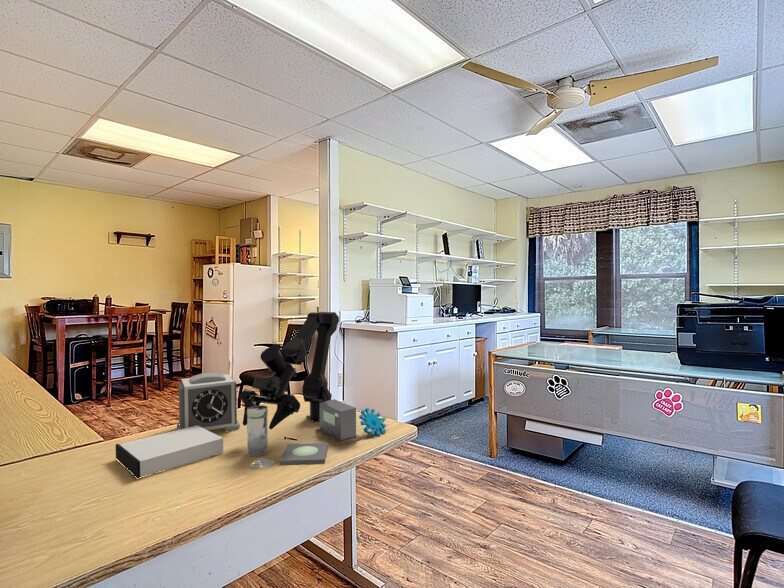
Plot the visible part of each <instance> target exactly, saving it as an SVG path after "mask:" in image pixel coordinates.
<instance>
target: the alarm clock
mask: <svg viewBox="0 0 784 588" xmlns="http://www.w3.org/2000/svg"><path fill="white" fill-rule="evenodd" d="M237 398H238V397H237V381H236V380H235V379H234V378H233V377H232V376H231V375H229V374H228V373H226V374H222V373H218V372H202V373H200V374H196V375H193V376H191V377H188V378H187V377H186V378H181V382H178V414H179V416H178V419H179V421H178V422H177V423H176V430H180V429H184V428H188V427H192V426H196V425H198V426H200V427H202V428H204V429H206V430H208V431H210V430H218V429H222V428H223V429H224V428H225V429H224V430H226V431H228V432H233V431H232V430H234V431H239V430H240V429H239V428H241V423H240V422H239V421H238V415H237V414H238V413H237V412H238V411H237V410H238V408H237V407H238V406H237V405H238V404H237V403H238V402H237V401H238V400H237ZM179 424H180V425H179ZM238 429H239V430H238ZM226 431H225V432H226Z"/></svg>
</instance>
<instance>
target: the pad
mask: <svg viewBox="0 0 784 588" xmlns="http://www.w3.org/2000/svg"><path fill="white" fill-rule="evenodd" d="M328 449H329V442H317V443H316V442H313V443H311V442H309V443H287V445H286V447H285V449H284V450H283V453H282V455H281V457H280V460H279V465H303V464H305V463H308V464H325V462H326V458H327V454H328Z"/></svg>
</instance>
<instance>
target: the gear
mask: <svg viewBox="0 0 784 588" xmlns="http://www.w3.org/2000/svg"><path fill="white" fill-rule="evenodd" d="M369 411H370V412H369ZM375 412H376V410H375V409H374V408H373V407H372V408H371V409H370V408H369V407H366V408H364V409H362V410H361V411H360V415H359V416H358V419H360V420H361V421H360V425H361V426H365V427H364V428H363V431H364V432H368V431H369V430H371V431H370V435H372V436H374V435H375V434H376V436H378V437H379V435H380V436H381V435H382V434H384V433H385V432H386V430H385V429H386V427H387V425H386V424H385V421H386V420H387V417H386V416H383V417H381V413H380V412H377V413H376V414H374V413H375ZM380 417H381V418H380Z"/></svg>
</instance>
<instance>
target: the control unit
mask: <svg viewBox="0 0 784 588" xmlns="http://www.w3.org/2000/svg"><path fill="white" fill-rule="evenodd" d="M315 432H316V433H315V434H317V435H318V436H320V435H321V436H320V437H322V436H323V438H324V439H326V440H328V441H329V440H330V442H331V443H333V444H335V445H336V446H339V447H340V446H343V445H346V444H349V443H353V442H357V441H361V437H362V436H361V435H360V434H357V407H354V406H352V405H349V404H347V403H345V402H342V401H340V400H337V399H331V400H328V401H323V402H320V421H319V428H317V429H315Z"/></svg>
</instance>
